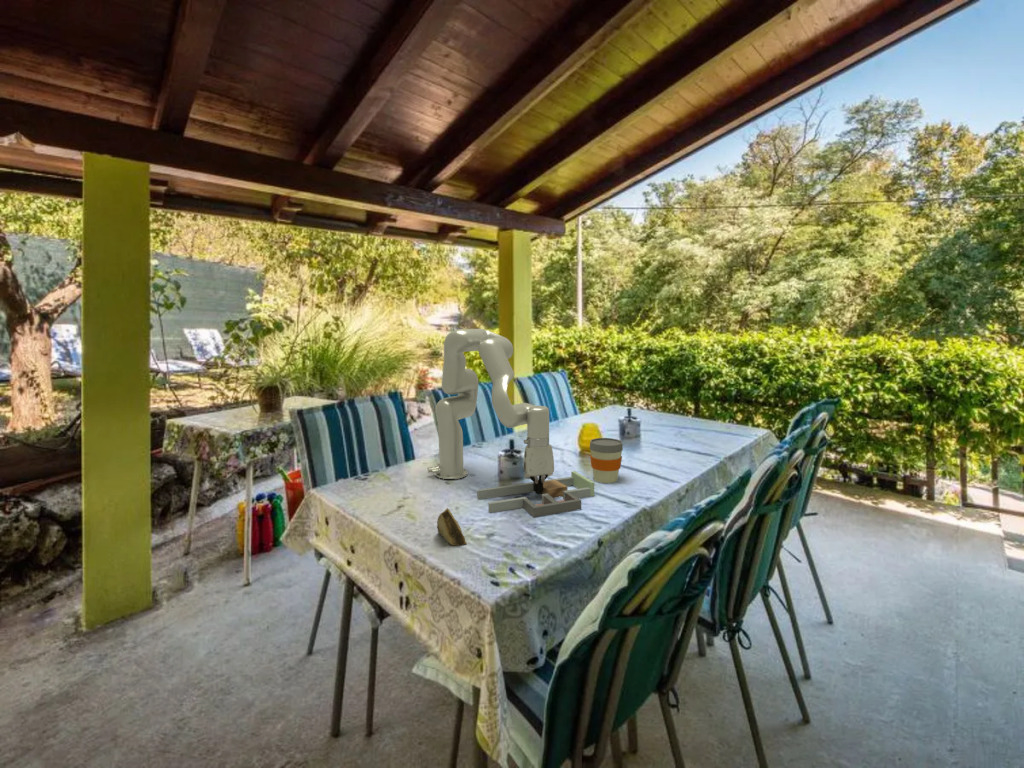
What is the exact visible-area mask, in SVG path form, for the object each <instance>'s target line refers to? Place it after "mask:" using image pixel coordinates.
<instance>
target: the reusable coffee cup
mask: <svg viewBox="0 0 1024 768" xmlns="http://www.w3.org/2000/svg"><path fill="white" fill-rule="evenodd" d="M589 450H590V455H589V457H590V458H589V459H590V466H591V468H592V475H593V480H594V481H595V482H597V481H598V482H597V483H600V482H602V483H601V484H614V483H616V482H618V479H619V470H620V469H621V466H622V459H623V456H622V451H623V450H624V448H623V441H622V440H619V439H617V438H610V437H598V438H593V439H591V440H590V442H589ZM613 482H614V483H613Z"/></svg>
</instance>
